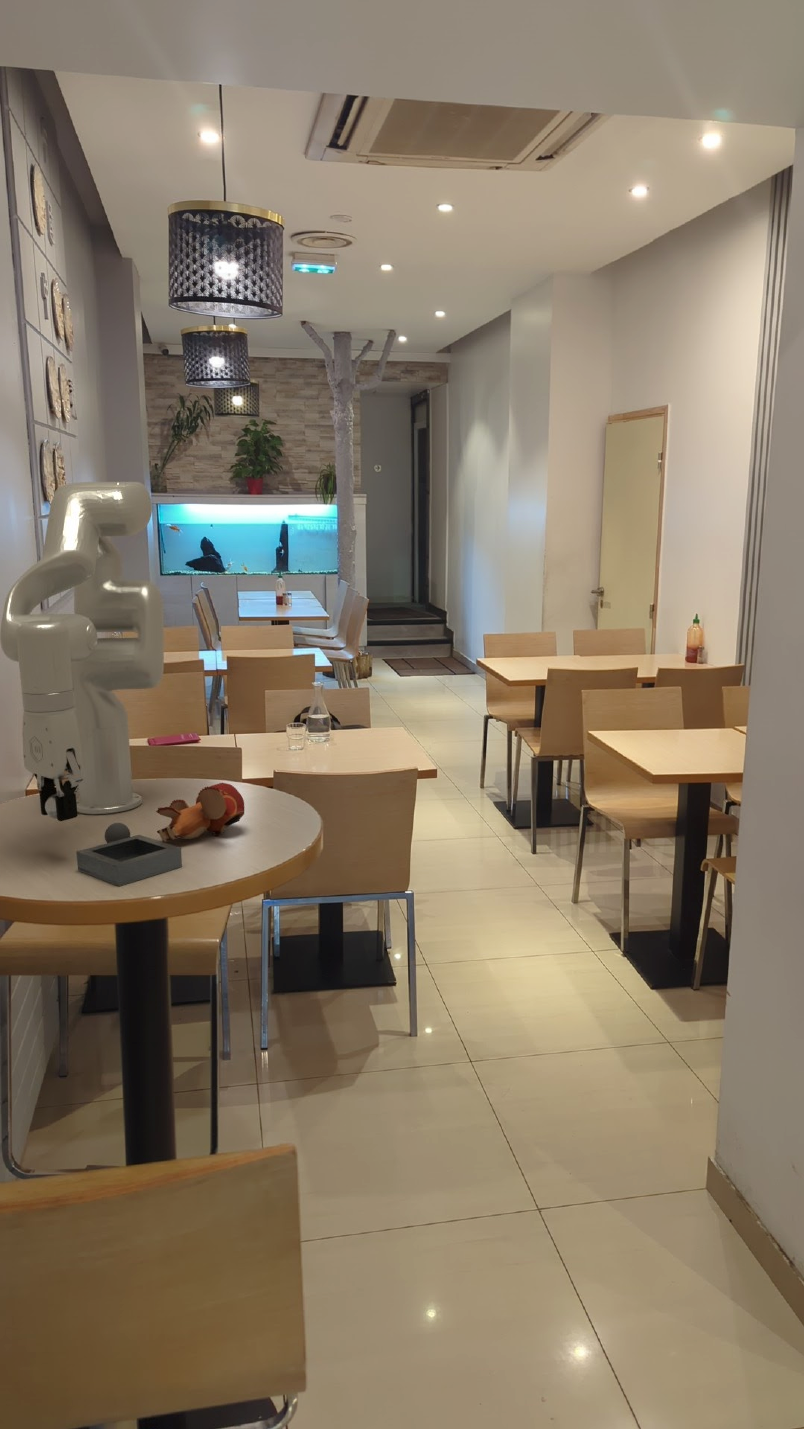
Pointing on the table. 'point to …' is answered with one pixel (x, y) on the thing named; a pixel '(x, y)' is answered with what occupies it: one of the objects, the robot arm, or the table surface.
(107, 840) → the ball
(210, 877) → the table surface
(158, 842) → the square metal tray
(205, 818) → the figurine
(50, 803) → the steel ball
